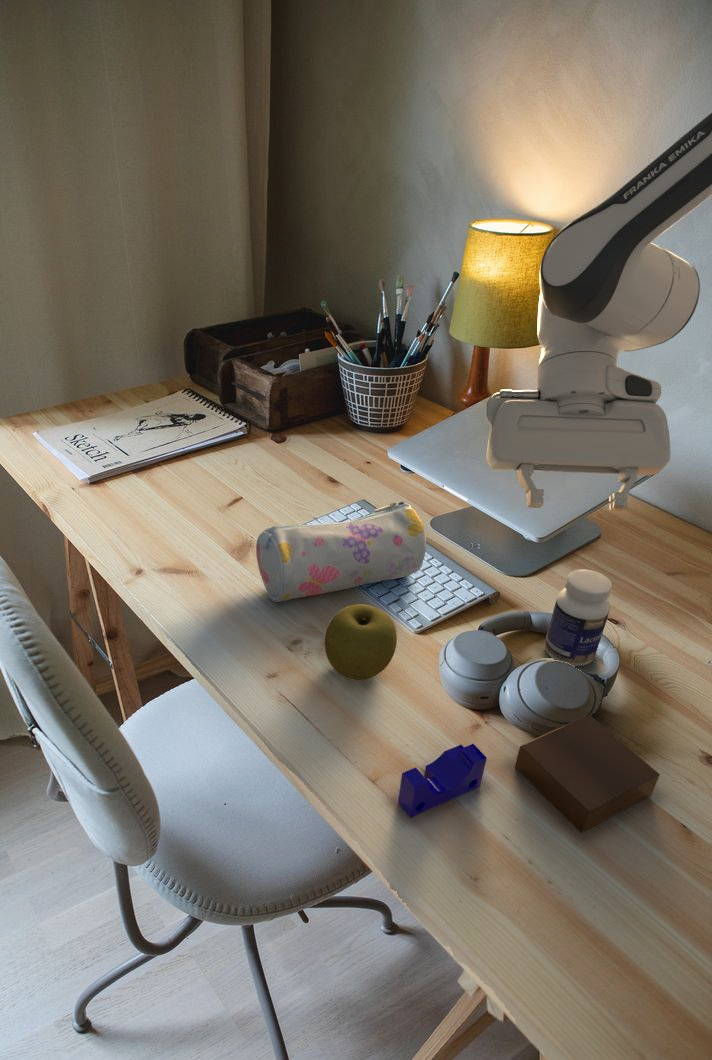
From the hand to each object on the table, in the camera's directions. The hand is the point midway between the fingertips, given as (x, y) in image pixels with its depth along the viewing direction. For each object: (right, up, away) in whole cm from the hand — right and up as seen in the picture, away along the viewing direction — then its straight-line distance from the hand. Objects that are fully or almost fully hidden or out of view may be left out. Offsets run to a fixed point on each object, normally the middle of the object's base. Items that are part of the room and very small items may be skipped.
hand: (576, 508), depth 94 cm
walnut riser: (-5, -28, -15) cm, 32 cm away
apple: (-25, -18, -3) cm, 31 cm away
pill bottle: (-1, -17, +1) cm, 17 cm away
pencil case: (-27, -8, +10) cm, 30 cm away
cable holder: (-19, -29, -16) cm, 38 cm away
